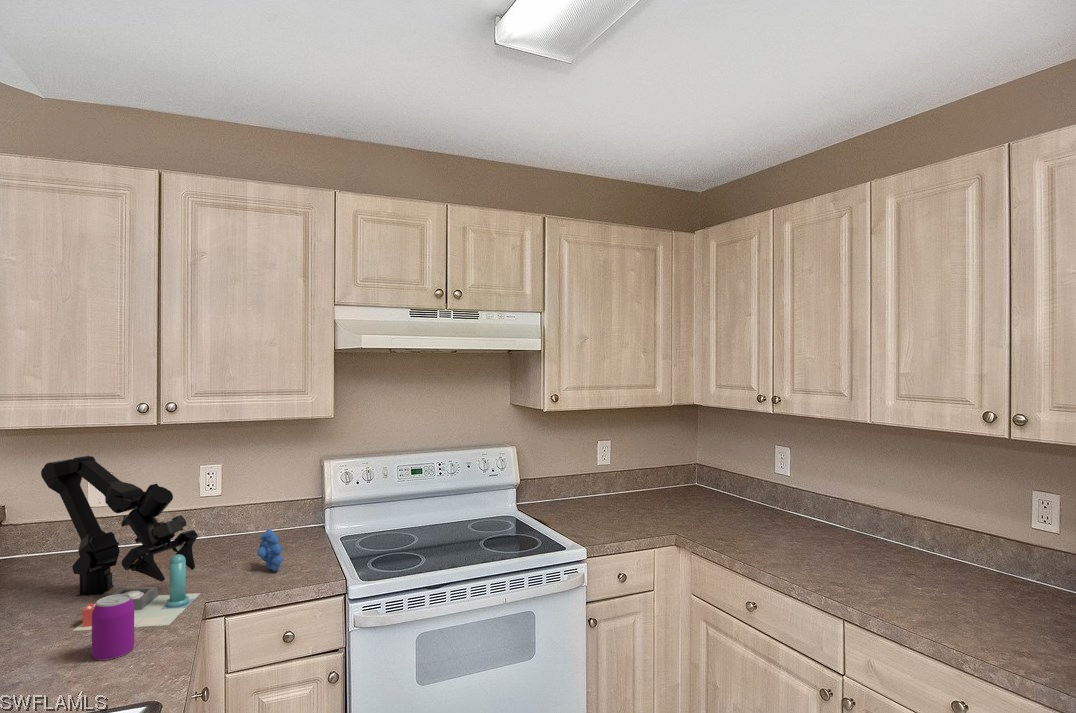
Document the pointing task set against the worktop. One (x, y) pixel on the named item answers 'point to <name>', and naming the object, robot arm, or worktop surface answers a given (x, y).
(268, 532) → the grapes
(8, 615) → the worktop surface
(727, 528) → the worktop surface
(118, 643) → the beverage can
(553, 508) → the worktop surface
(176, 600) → the teal dildo
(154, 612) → the board
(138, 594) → the dome
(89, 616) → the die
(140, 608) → the tray
